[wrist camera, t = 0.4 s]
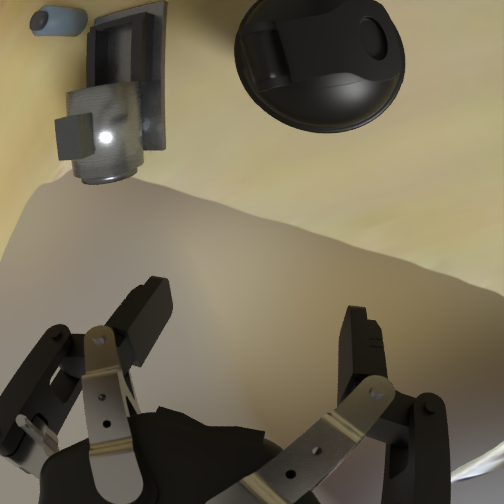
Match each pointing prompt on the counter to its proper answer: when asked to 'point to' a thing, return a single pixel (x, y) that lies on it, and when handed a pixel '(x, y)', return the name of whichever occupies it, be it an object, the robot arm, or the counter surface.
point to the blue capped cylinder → (58, 21)
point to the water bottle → (320, 61)
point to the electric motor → (117, 97)
